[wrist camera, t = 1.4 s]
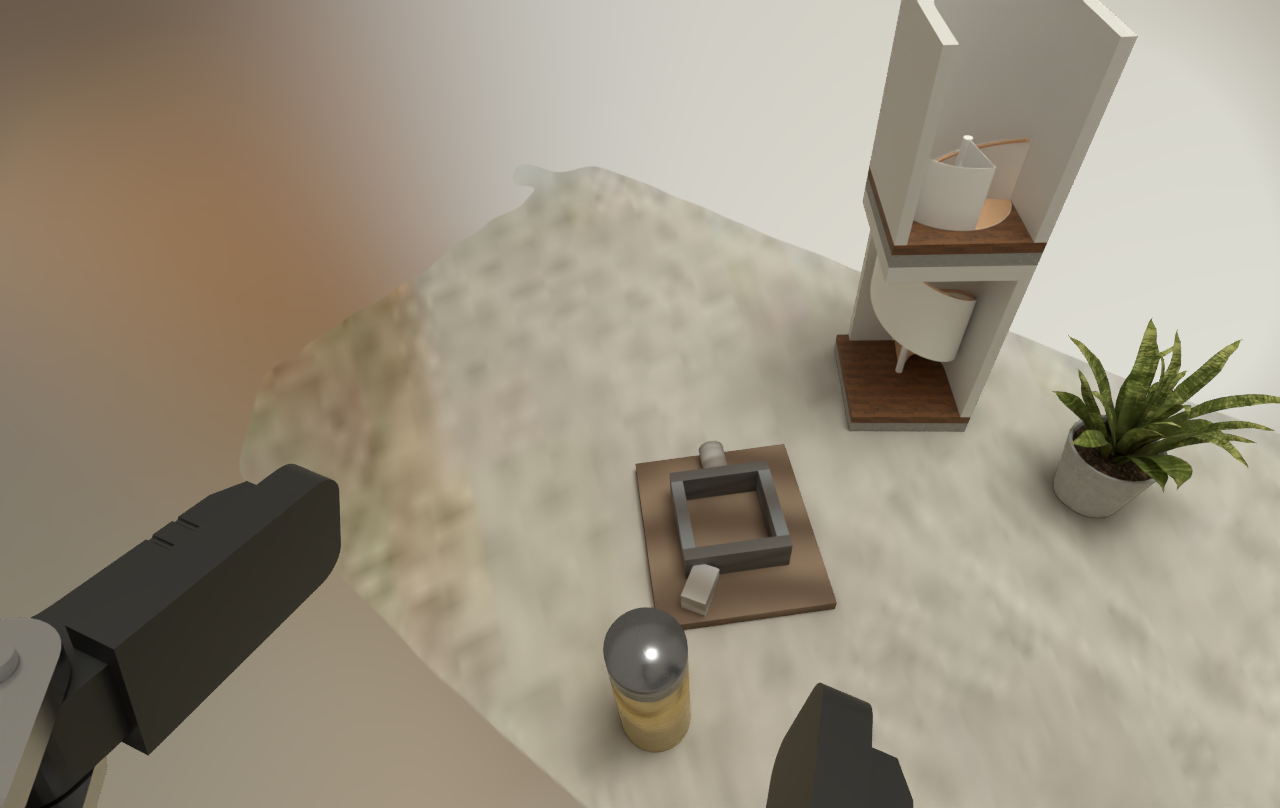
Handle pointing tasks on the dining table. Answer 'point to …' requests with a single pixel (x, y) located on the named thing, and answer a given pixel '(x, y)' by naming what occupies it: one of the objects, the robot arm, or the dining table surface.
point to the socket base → (730, 537)
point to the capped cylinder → (649, 677)
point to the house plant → (1141, 429)
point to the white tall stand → (967, 194)
